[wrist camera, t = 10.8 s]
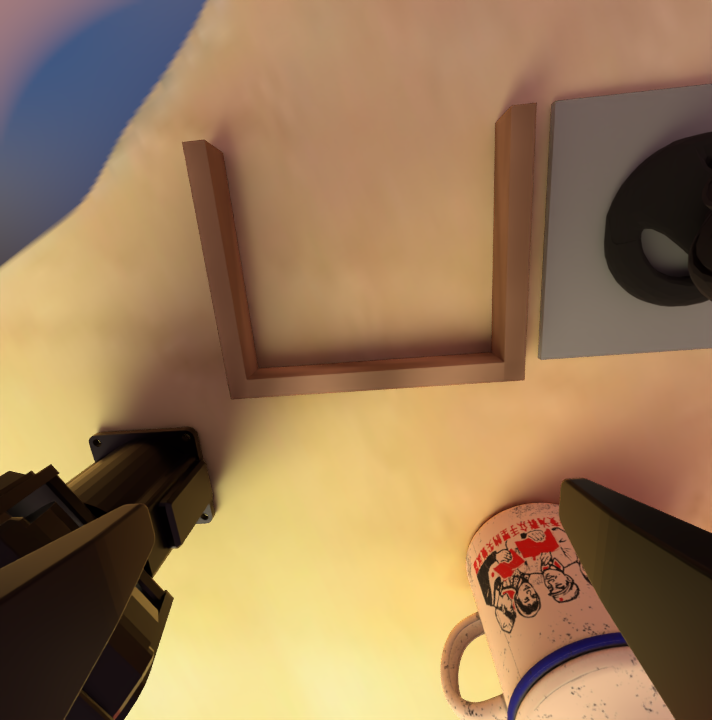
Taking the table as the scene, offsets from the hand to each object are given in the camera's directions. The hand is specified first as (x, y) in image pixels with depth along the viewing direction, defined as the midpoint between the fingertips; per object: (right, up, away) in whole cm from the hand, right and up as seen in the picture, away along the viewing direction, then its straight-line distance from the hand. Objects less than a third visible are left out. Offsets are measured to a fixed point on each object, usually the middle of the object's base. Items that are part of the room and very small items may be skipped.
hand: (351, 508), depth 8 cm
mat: (+15, +9, +10) cm, 21 cm away
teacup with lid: (+10, -10, +16) cm, 21 cm away
